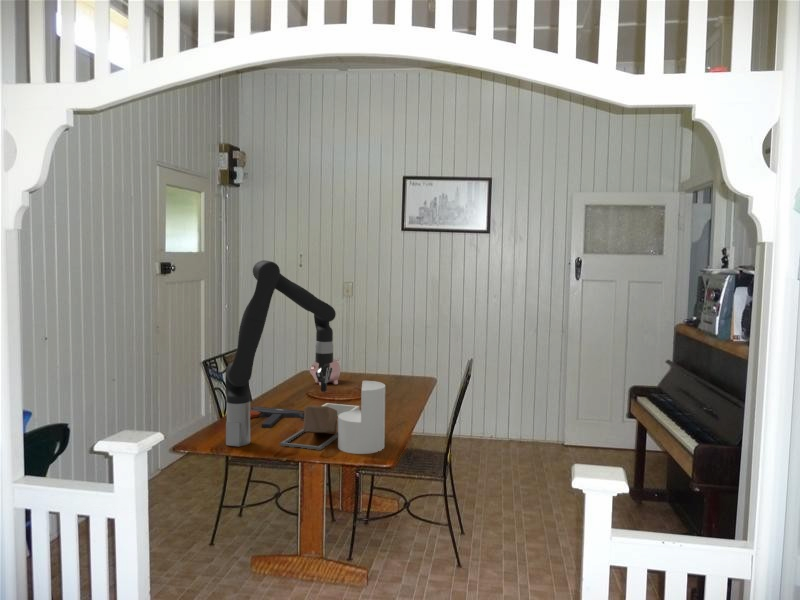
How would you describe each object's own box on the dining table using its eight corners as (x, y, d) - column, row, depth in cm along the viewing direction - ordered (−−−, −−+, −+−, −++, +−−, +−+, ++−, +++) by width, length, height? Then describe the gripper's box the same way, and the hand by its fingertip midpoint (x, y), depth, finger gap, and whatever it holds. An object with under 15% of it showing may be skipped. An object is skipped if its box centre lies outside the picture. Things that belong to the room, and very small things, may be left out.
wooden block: (337, 409, 281) (329, 406, 262) (336, 433, 279) (327, 431, 260) (315, 409, 282) (304, 405, 263) (313, 432, 280) (302, 430, 261)
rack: (339, 435, 276) (339, 419, 276) (304, 431, 281) (304, 415, 280) (359, 421, 299) (359, 406, 299) (326, 417, 304) (326, 403, 303)
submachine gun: (226, 418, 291) (255, 405, 315) (226, 424, 291) (255, 411, 315) (291, 425, 282) (315, 411, 306) (291, 431, 282) (315, 417, 306)
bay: (320, 450, 256) (320, 447, 256) (280, 445, 261) (280, 442, 260) (340, 435, 276) (340, 432, 276) (303, 431, 281) (303, 428, 281)
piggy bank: (306, 381, 383) (306, 355, 381) (335, 379, 390) (335, 353, 389) (314, 387, 369) (314, 359, 368) (344, 384, 376) (344, 357, 375)
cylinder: (386, 440, 270) (387, 381, 268) (382, 454, 252) (383, 391, 250) (341, 438, 272) (342, 379, 270) (334, 453, 253) (334, 389, 251)
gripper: (326, 354, 271) (325, 395, 272) (338, 349, 283) (337, 388, 285) (309, 353, 273) (309, 393, 274) (322, 348, 285) (321, 387, 287)
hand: (323, 391), depth 279 cm, fingers closed
